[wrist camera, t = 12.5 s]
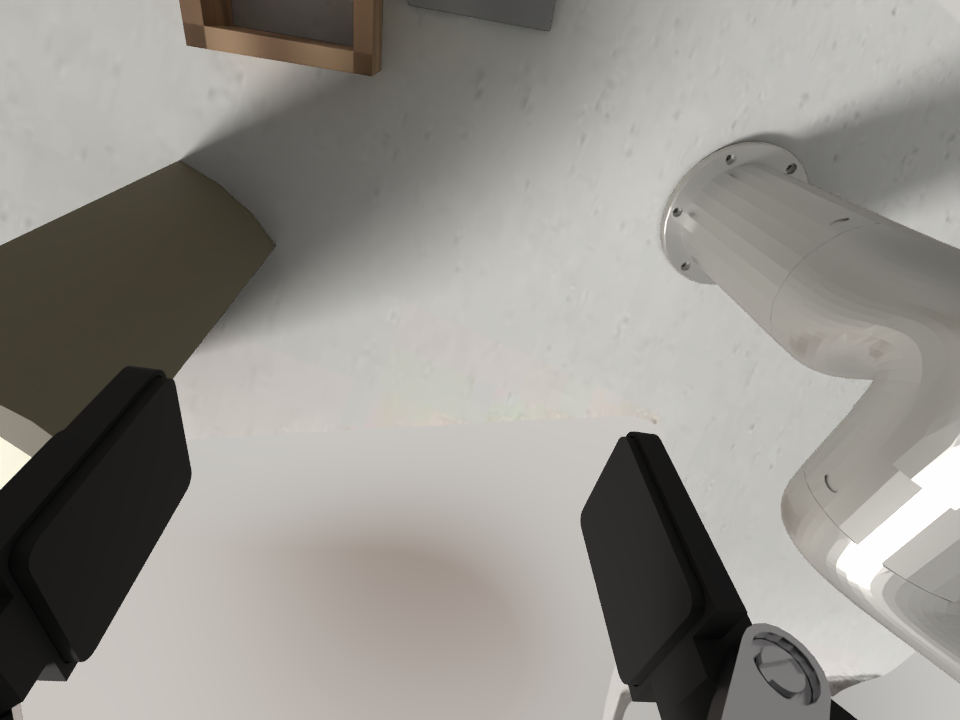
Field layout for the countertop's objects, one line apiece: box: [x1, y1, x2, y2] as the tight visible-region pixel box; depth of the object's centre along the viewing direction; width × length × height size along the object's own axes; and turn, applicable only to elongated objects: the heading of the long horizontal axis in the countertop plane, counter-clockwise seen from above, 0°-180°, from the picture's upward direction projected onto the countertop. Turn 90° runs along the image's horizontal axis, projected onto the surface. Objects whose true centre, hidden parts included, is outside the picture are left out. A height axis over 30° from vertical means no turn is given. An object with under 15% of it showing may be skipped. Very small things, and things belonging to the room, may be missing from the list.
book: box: [0, 161, 276, 490], centre depth 32 cm, size 22×9×28 cm, turn 129°
